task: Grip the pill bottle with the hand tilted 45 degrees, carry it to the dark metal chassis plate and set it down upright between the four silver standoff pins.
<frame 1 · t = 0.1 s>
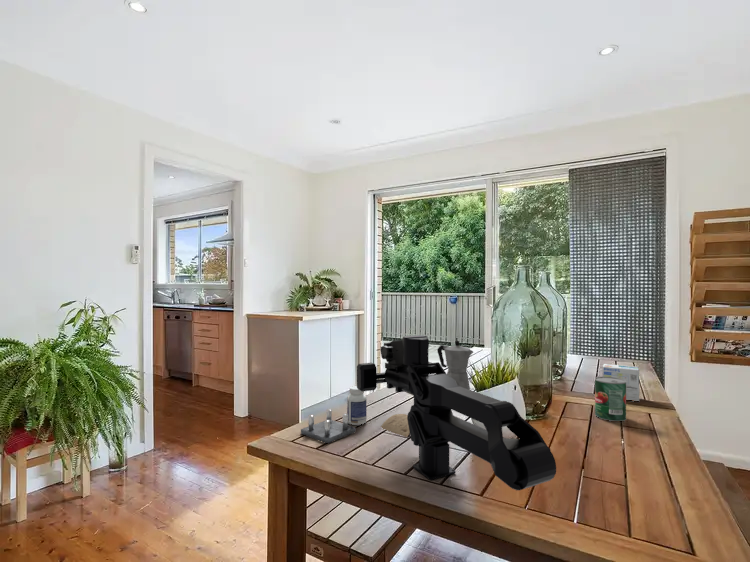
hand: (377, 367, 106), 17 cm above the table, tool horizontal, fingers open, 9 cm apart
pill bottle: (356, 423, 113), on the table
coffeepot: (454, 389, 148), on the table
canned tomato: (610, 418, 116), on the table
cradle: (328, 433, 104), on the table
light bulb box: (620, 398, 137), on the table
clay tablet: (407, 429, 110), on the table
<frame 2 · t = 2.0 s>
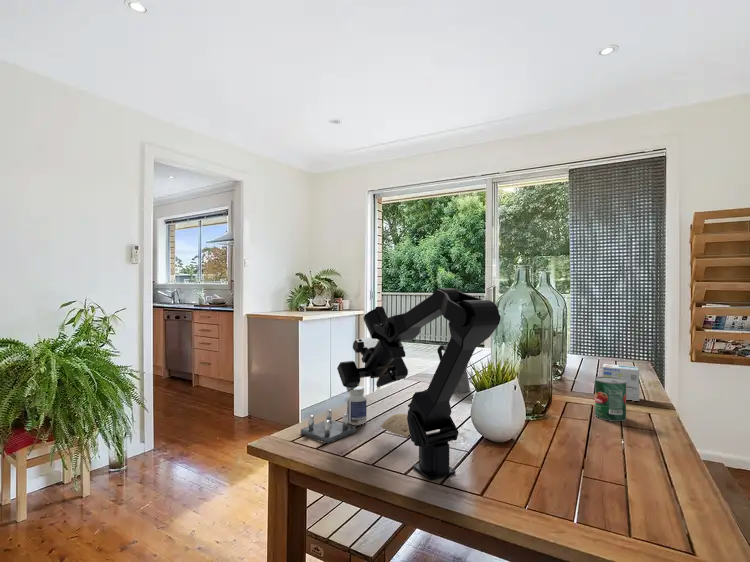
hand: (362, 387, 110), 10 cm above the table, tool tilted 45°, fingers open, 9 cm apart
nothing on the table moved.
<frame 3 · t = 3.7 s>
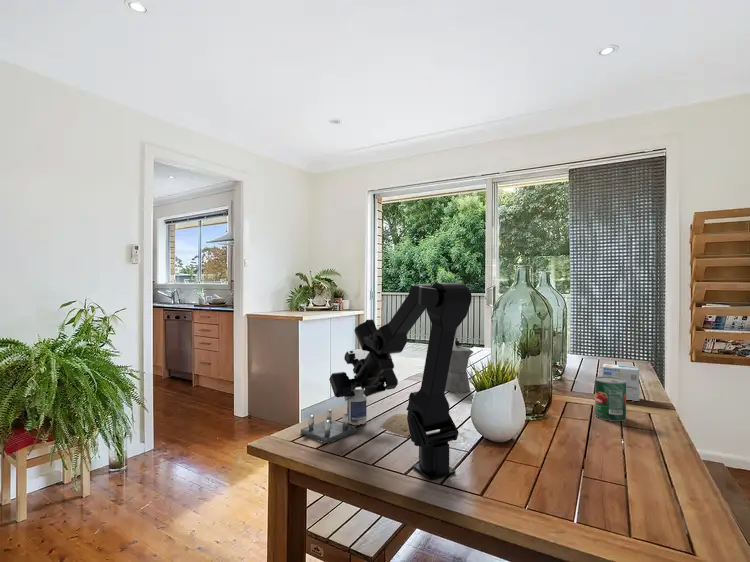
hand: (354, 397, 114), 7 cm above the table, tool tilted 45°, fingers closed on pill bottle, 5 cm apart
pill bottle: (356, 423, 113), on the table, touching gripper
everything else where it was.
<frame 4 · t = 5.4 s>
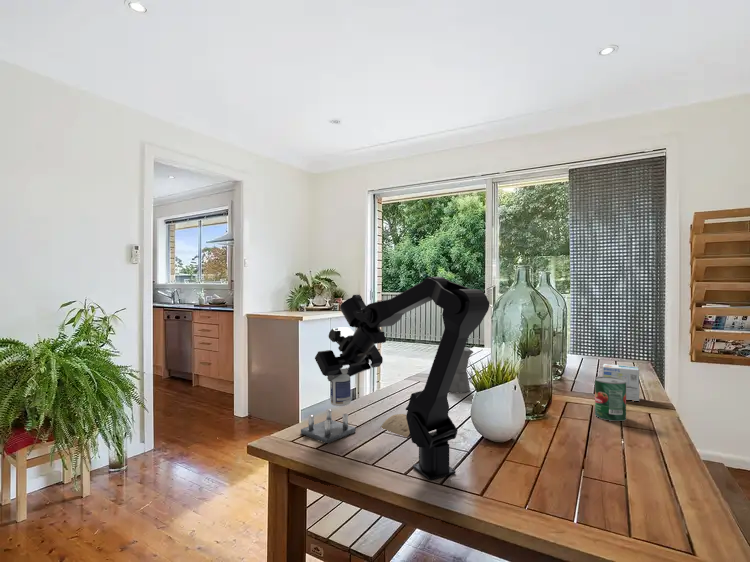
hand: (337, 378, 109), 13 cm above the table, tool tilted 45°, fingers closed on pill bottle, 5 cm apart
pill bottle: (340, 404, 108), point 6 cm above the table, touching gripper
everything else where it was.
when the fingers open (9 cm above the table, at t = 7.2 s): pill bottle drops 1 cm, resting on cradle.
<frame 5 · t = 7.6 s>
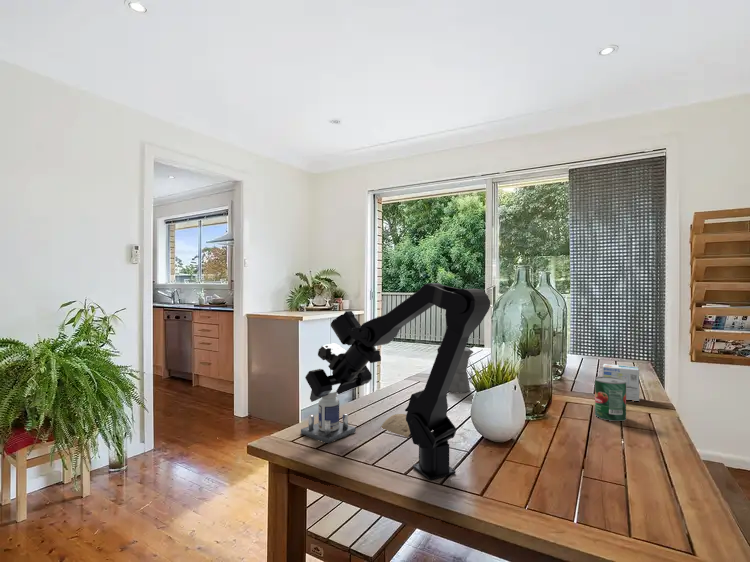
hand: (324, 396, 105), 9 cm above the table, tool tilted 45°, fingers open, 9 cm apart
pill bottle: (328, 429, 104), point 1 cm above the table, touching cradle
everything else where it was.
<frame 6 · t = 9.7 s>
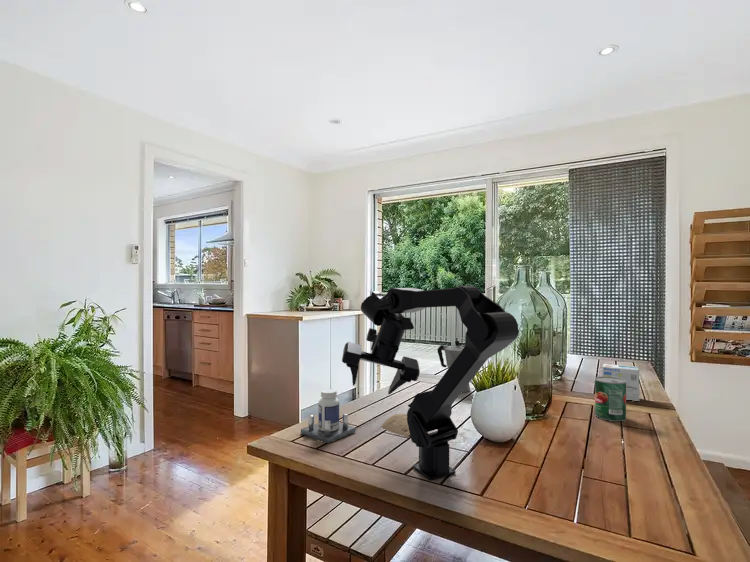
hand: (371, 388, 100), 13 cm above the table, tool tilted 25°, fingers open, 9 cm apart
nothing on the table moved.
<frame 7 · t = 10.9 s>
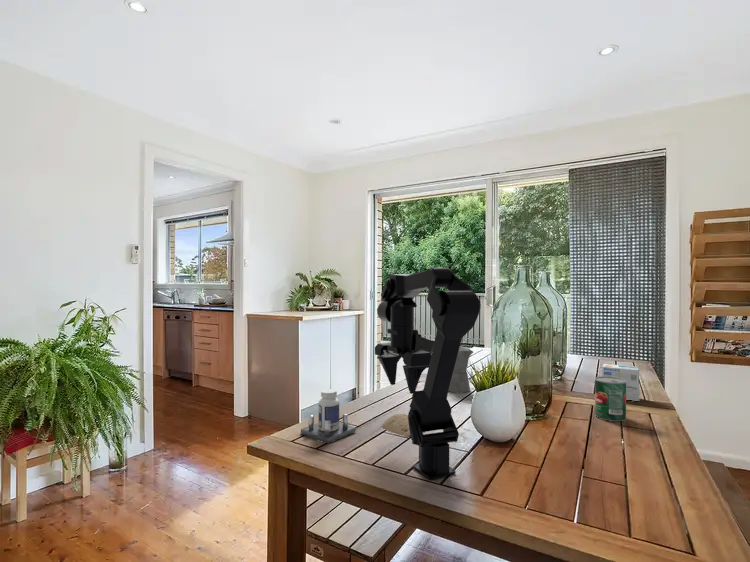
hand: (402, 388, 99), 13 cm above the table, tool pointing down, fingers open, 9 cm apart
nothing on the table moved.
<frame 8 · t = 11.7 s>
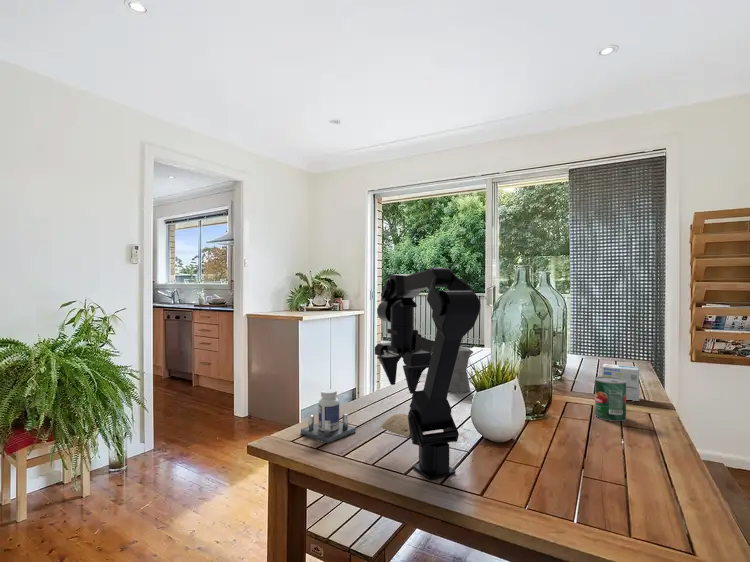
hand: (402, 388, 99), 13 cm above the table, tool pointing down, fingers open, 9 cm apart
nothing on the table moved.
at the end: pill bottle 0.2 cm from the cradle (horizontally); pill bottle tilted 0°; pill bottle touching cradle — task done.
